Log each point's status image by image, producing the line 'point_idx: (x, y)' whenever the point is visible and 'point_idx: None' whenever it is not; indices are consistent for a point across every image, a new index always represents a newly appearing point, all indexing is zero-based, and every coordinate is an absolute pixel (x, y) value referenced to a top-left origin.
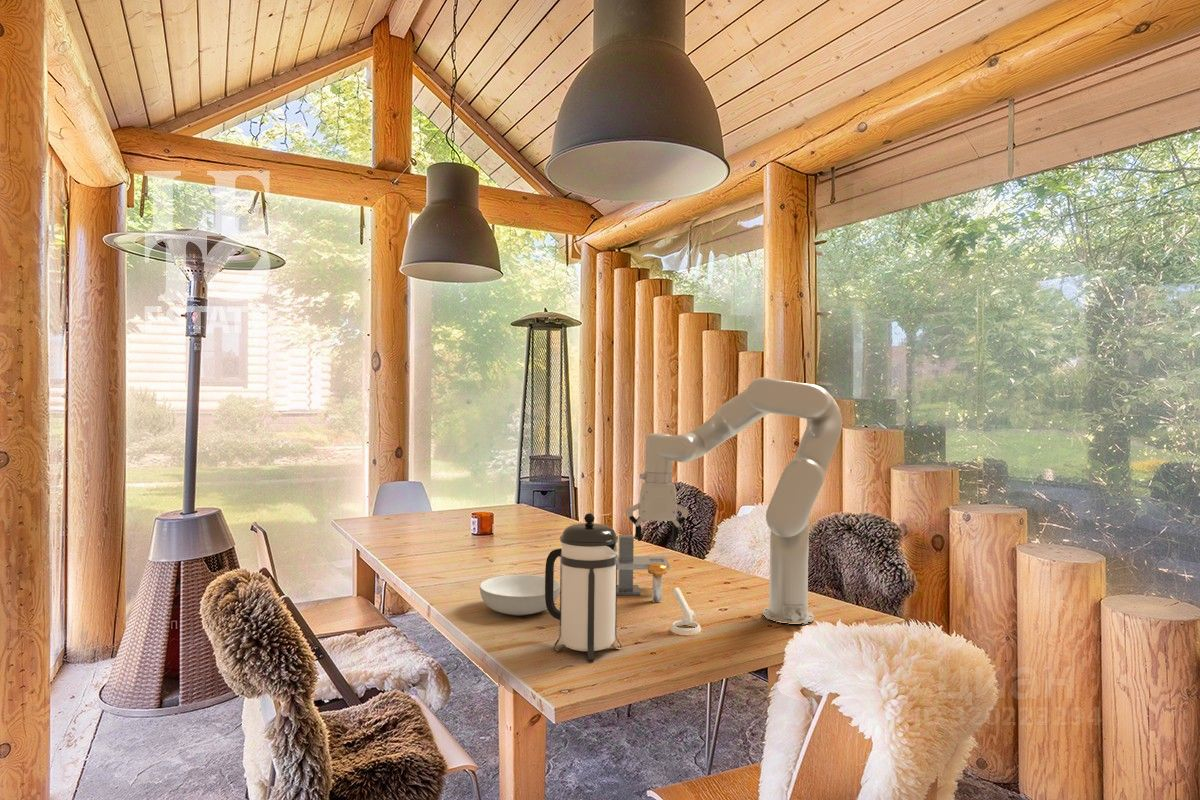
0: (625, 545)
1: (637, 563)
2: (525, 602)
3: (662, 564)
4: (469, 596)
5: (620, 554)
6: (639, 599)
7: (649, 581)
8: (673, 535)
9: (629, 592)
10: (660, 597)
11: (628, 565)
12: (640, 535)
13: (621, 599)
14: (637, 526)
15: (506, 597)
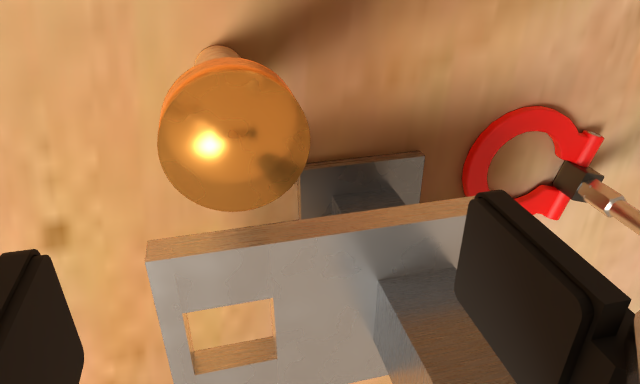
0: (471, 345)
1: (358, 249)
2: None
3: (196, 172)
4: None
5: None
6: (306, 99)
7: None
8: (24, 314)
9: (350, 164)
10: (202, 58)
11: (412, 219)
12: (516, 224)
13: (389, 92)
14: (628, 326)
15: None
